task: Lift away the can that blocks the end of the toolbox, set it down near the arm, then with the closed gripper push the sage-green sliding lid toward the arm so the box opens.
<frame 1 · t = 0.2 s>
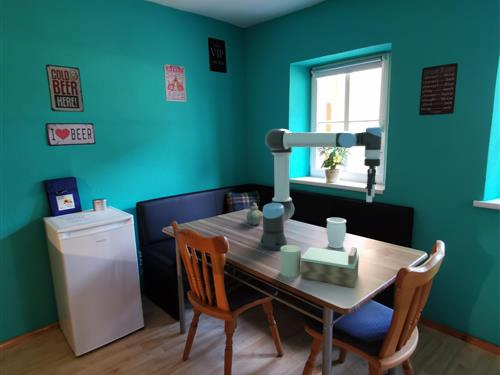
hand: (370, 199, 163), 28 cm above the table, fingers open, 13 cm apart
jar: (335, 246, 175), on the table
lid: (330, 253, 137), point 11 cm above the table, slide at 0.0 cm
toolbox: (329, 276, 139), on the table
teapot: (254, 224, 221), on the table
can: (290, 272, 143), on the table
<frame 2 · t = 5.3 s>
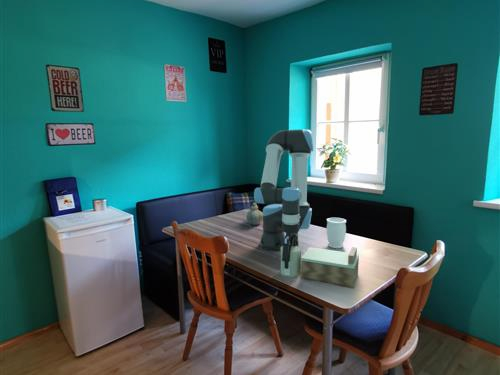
hand: (290, 270, 143), 1 cm above the table, fingers closed on can, 9 cm apart
can: (290, 272, 143), on the table, touching gripper
everything else where it was.
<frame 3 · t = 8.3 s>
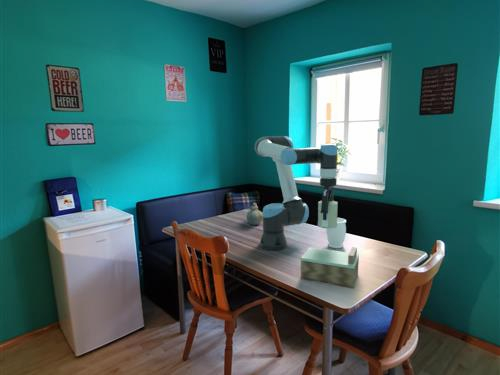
hand: (327, 223, 152), 19 cm above the table, fingers closed on can, 9 cm apart
can: (327, 226, 152), point 18 cm above the table, touching gripper
everything else where it was.
when the fingers open (2 cm above the table, at t = 11.3 s): can drops 1 cm, on the table.
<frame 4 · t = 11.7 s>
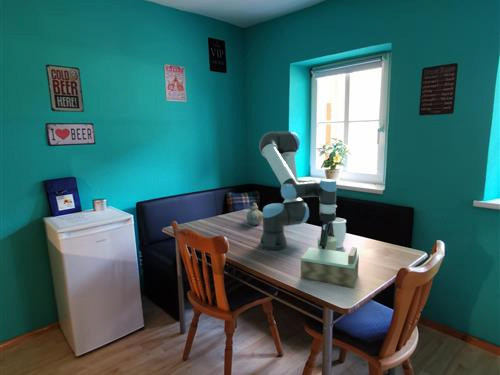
hand: (326, 254, 154), 4 cm above the table, fingers open, 13 cm apart
lid: (330, 253, 137), point 11 cm above the table, slide at 0.0 cm, touching gripper
can: (326, 261, 155), on the table
everything else where it was.
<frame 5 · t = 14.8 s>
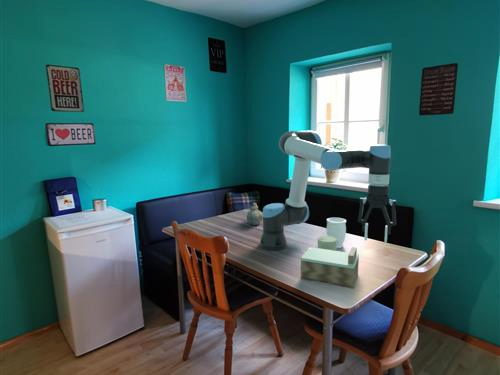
hand: (375, 240, 127), 19 cm above the table, fingers open, 7 cm apart
lid: (330, 253, 137), point 11 cm above the table, slide at 0.0 cm
everything else where it was.
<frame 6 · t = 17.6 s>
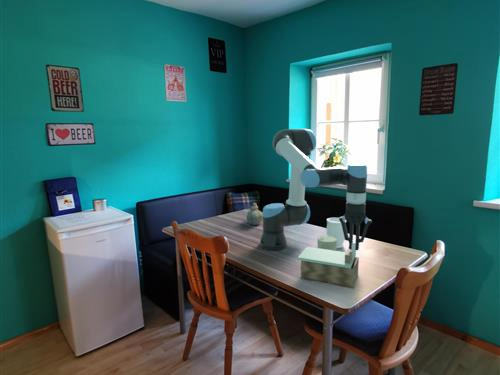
hand: (353, 256, 133), 11 cm above the table, fingers closed
lid: (327, 252, 137), point 11 cm above the table, slide at 1.4 cm, touching gripper
everything else where it was.
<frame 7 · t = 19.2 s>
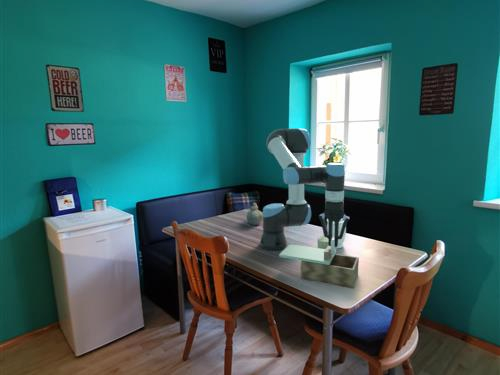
hand: (332, 253, 136), 11 cm above the table, fingers closed
lid: (307, 250, 141), point 11 cm above the table, slide at 9.9 cm, touching gripper
everything else where it was.
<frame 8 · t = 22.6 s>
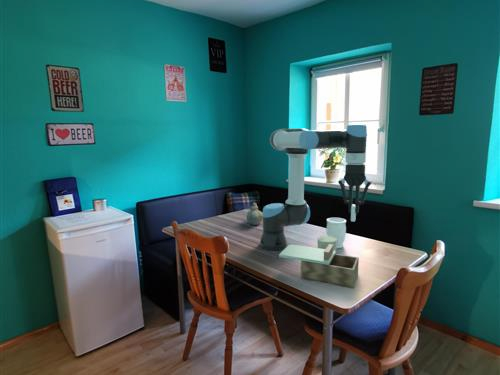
hand: (353, 220, 130), 26 cm above the table, fingers closed
lid: (307, 250, 141), point 11 cm above the table, slide at 10.0 cm
everything else where it was.
at the end: lid slide at 10.0 cm; can inside the target area (0.0 cm from its centre), on the table; can tilted 0° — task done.
